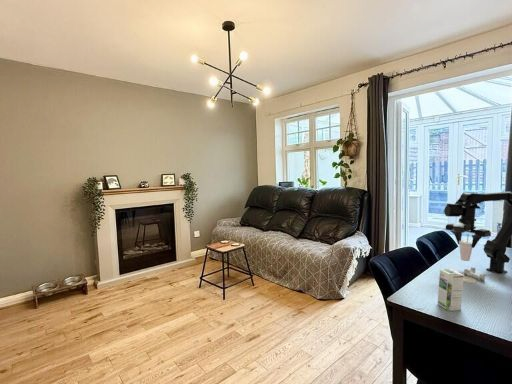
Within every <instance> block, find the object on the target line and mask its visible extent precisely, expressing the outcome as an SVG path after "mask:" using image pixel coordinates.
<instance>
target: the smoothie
mask: <svg viewBox="0 0 512 384" xmlns="http://www.w3.org/2000/svg"><path fill="white" fill-rule="evenodd" d="M466 235H467V236H466V240H461V241H459V244H458V245H459V255H460V260H461V261H464V262H470V261H471V260H470V259H471V255H472V251H473V248H472V241H469V233H467V234H466Z"/></svg>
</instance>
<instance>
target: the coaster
mask: <svg viewBox="0 0 512 384" xmlns="http://www.w3.org/2000/svg"><path fill="white" fill-rule="evenodd" d="M477 282H478V281H477V279H474V278H471V277H468V276H464V279H463V283H466V284H476V283H477Z"/></svg>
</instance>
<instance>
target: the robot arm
mask: <svg viewBox="0 0 512 384" xmlns="http://www.w3.org/2000/svg"><path fill="white" fill-rule="evenodd" d="M497 201H505V202H506V203H507V204H508V206H510V208H509V216H508V217H507V219H506V221H505V222H504V223H503V225H502V227H501V228H500V229H499V231H498V233H497V234H496V236H494V237H495V238H493V239H492V240H490V239H487V241H486V242H485V244H484V245H483V252H484V254H486V257H487V258H489V267H487V268H485V270H486V271H489V272H492V273H496V274H498V275H499V274H500V275H502V274H505V273H508V270H505V263H509V261H510V260H511V259H510V257H509V256H508V255H507V254H506V251H507V243H508V242H509V240H510V238H511V237H512V191H504V192H502V191H500V192H486V193H475V192H465V191H464V192H463V193H462V194H461V195H460V197H459V198H458V199H457V200H456V202H455V203H446V206H445V207H444V211H443V212H444V215H445V217H453V218H454V217H457V218H458V217H460V218H459V219H458V221H457V222H455V223H448V224H446V225H445V230H447V231H450V232H451V233H452V234H453V235H454V237H455V239H456V243H457V244H458V245H459V241H462V237H463V233H465V232H466V233H473V235H471V237H472V241H471V242H472V249H473V248H475V247H476V246H477V244H478V243H479V241H480V240H481V239H482V238H486V237H491V236H492V232H491V231H490V230H489V229H484V228H478V229H476V228H477V226H475V222H477V218H476V209H479V210H480V209H481V207H480V206H479V205H478V204H482V203H484V202H497Z"/></svg>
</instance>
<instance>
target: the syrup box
mask: <svg viewBox="0 0 512 384" xmlns="http://www.w3.org/2000/svg"><path fill="white" fill-rule="evenodd" d="M463 279H464V273H460V272H459V271H456V270H454V269H451V268H444V269H443V268H442V269H439V275H438V292H437V305H439V306H440V307H442V308H444V309H445V310H446V311H447V312H450V311H452V312H453V311H462V303H463V290H464V289H463V288H464V282H463Z"/></svg>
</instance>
